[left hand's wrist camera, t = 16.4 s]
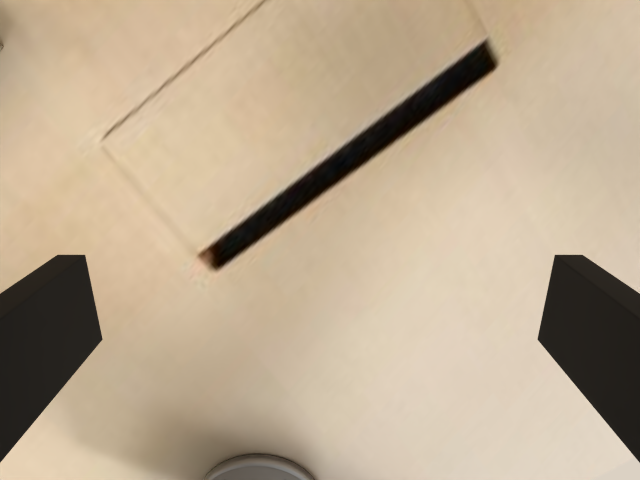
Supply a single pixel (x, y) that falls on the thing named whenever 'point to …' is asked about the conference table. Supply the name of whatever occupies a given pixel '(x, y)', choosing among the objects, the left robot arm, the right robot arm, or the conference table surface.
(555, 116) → the conference table surface
